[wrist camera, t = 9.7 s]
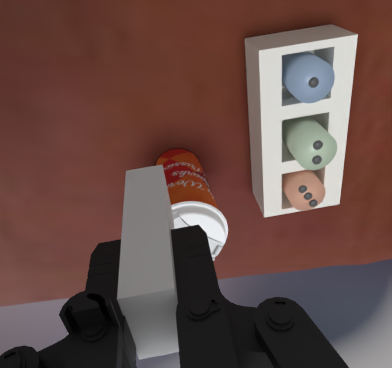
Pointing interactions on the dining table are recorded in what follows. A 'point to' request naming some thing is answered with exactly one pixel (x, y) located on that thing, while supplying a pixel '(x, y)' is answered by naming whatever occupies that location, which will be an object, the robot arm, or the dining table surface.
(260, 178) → the panel
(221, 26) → the dining table surface
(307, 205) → the button three
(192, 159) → the coffee cup
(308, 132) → the button two
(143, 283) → the robot arm
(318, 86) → the button one
